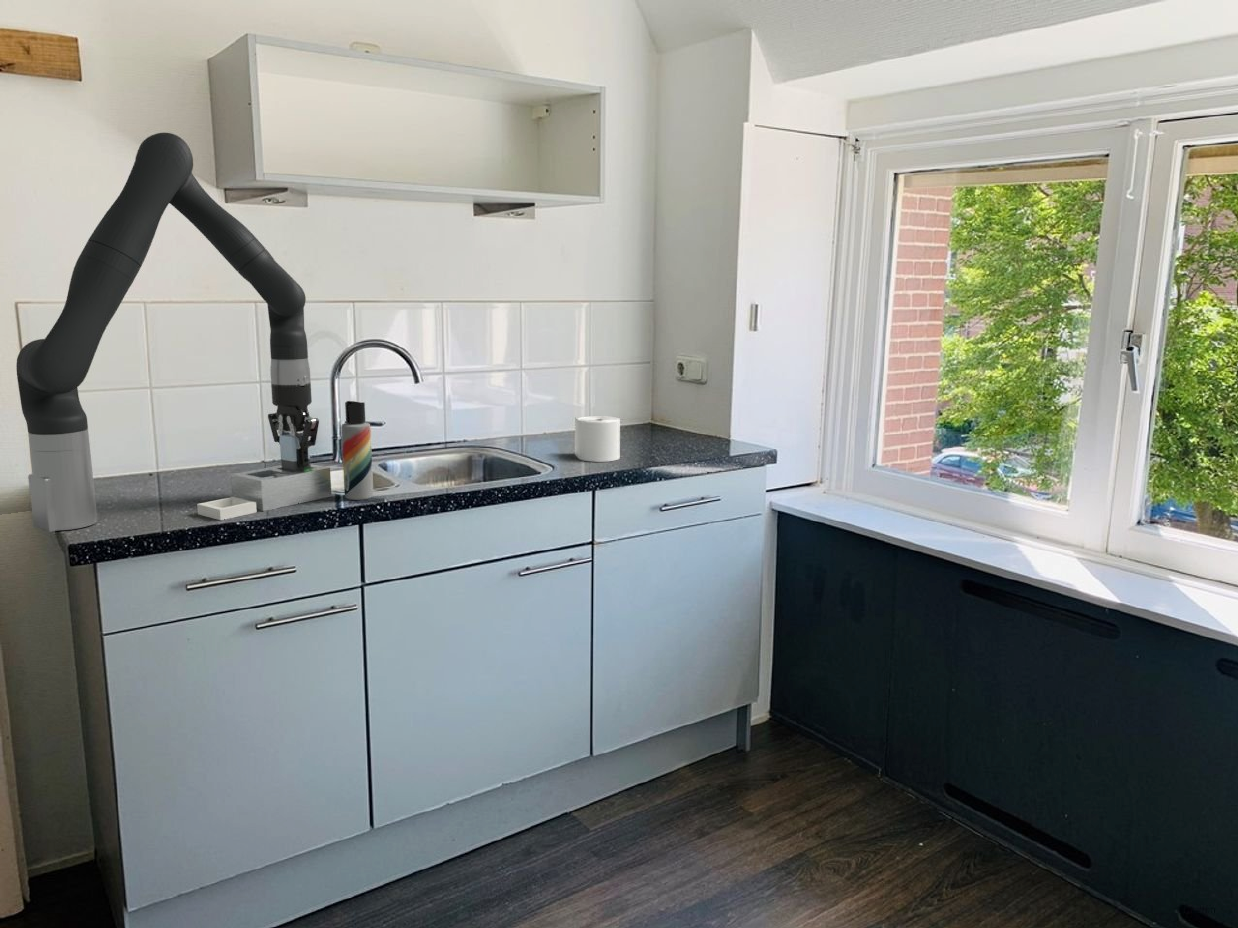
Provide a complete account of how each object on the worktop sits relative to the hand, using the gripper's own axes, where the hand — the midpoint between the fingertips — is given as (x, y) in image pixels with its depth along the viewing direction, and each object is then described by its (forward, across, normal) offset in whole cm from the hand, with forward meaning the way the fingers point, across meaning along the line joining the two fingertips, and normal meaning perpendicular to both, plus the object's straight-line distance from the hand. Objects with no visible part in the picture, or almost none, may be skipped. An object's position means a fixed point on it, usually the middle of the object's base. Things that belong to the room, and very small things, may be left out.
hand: (295, 464), depth 193 cm
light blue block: (+3, 0, 0) cm, 3 cm away
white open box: (+7, +1, -16) cm, 18 cm away
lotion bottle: (+7, +10, +8) cm, 14 cm away
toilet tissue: (+7, +23, +72) cm, 75 cm away
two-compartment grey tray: (+7, 0, -4) cm, 8 cm away
